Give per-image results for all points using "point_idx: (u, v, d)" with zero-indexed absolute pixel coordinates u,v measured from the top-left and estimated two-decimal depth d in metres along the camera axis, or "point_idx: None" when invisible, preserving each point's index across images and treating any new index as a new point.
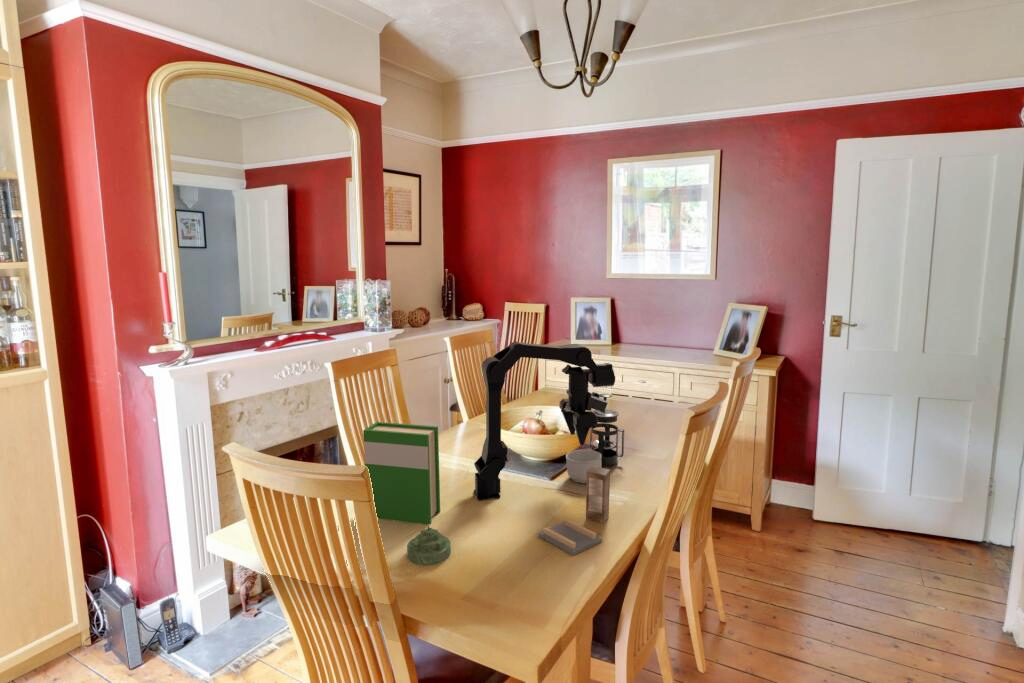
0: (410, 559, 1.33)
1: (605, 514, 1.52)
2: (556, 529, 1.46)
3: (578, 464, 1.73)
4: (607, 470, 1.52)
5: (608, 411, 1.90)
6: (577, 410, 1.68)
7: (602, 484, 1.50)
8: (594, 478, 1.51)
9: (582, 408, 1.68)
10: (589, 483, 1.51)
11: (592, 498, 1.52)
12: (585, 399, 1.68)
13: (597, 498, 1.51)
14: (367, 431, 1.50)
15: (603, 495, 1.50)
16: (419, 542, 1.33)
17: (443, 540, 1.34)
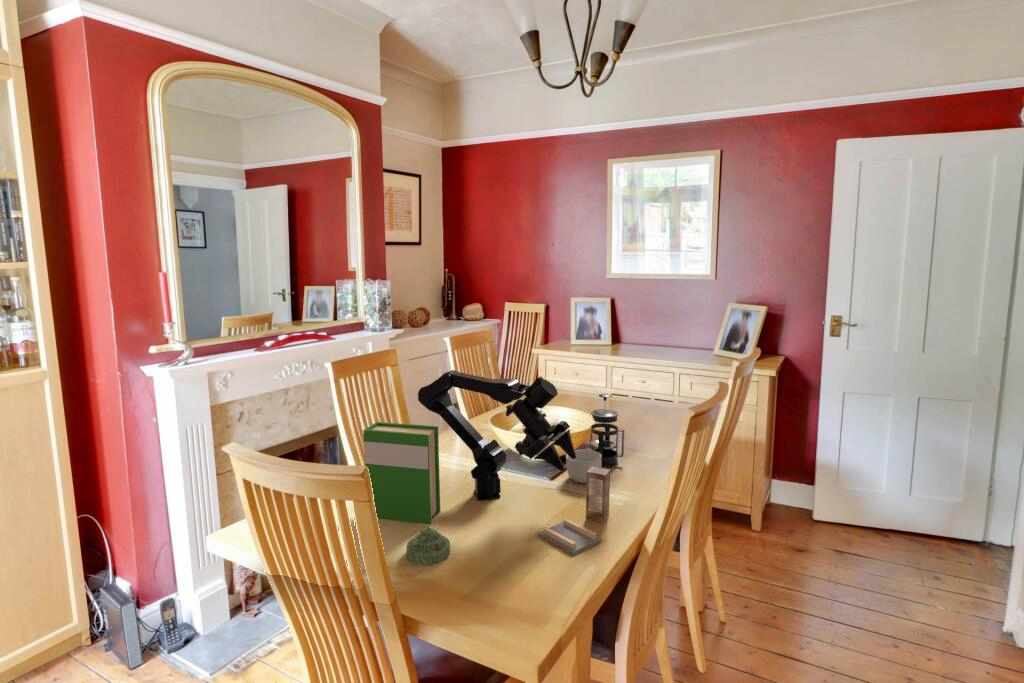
0: (409, 559, 1.33)
1: (605, 514, 1.52)
2: (556, 529, 1.46)
3: (578, 464, 1.73)
4: (607, 470, 1.52)
5: (608, 411, 1.90)
6: None
7: (602, 484, 1.50)
8: (594, 478, 1.51)
9: None
10: (589, 483, 1.51)
11: (592, 498, 1.52)
12: None
13: (597, 498, 1.51)
14: (367, 431, 1.50)
15: (603, 495, 1.50)
16: (418, 542, 1.33)
17: (442, 540, 1.34)
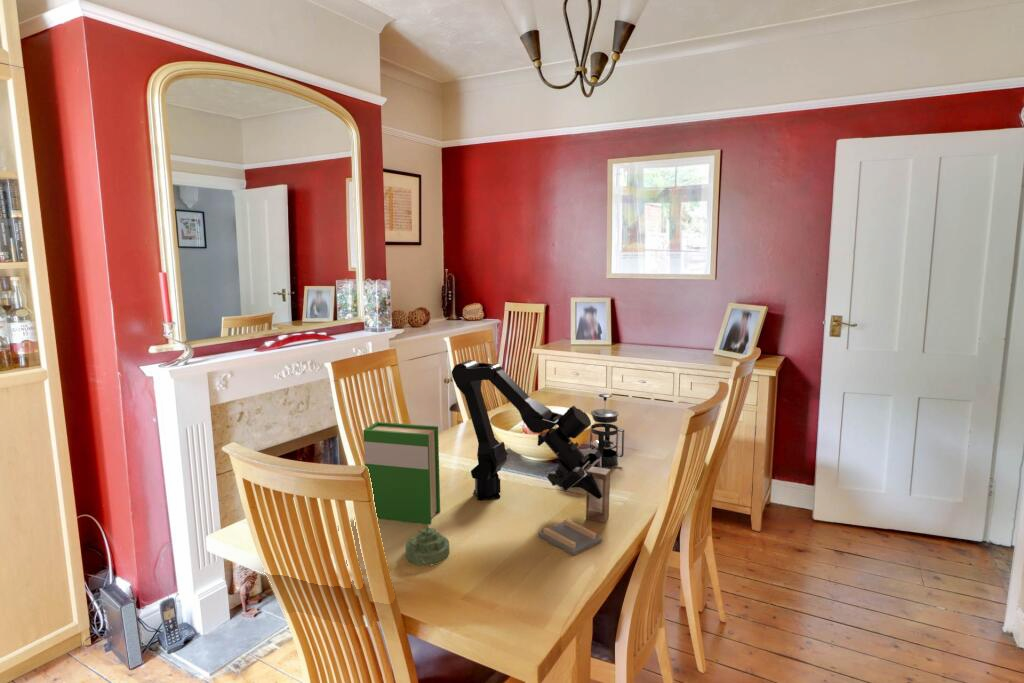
0: (409, 559, 1.33)
1: (605, 514, 1.52)
2: (556, 529, 1.46)
3: None
4: (607, 470, 1.52)
5: (608, 411, 1.90)
6: None
7: (602, 484, 1.50)
8: (594, 478, 1.51)
9: None
10: None
11: (592, 498, 1.52)
12: None
13: (597, 498, 1.51)
14: (367, 431, 1.50)
15: (603, 494, 1.50)
16: (417, 542, 1.34)
17: (442, 540, 1.34)
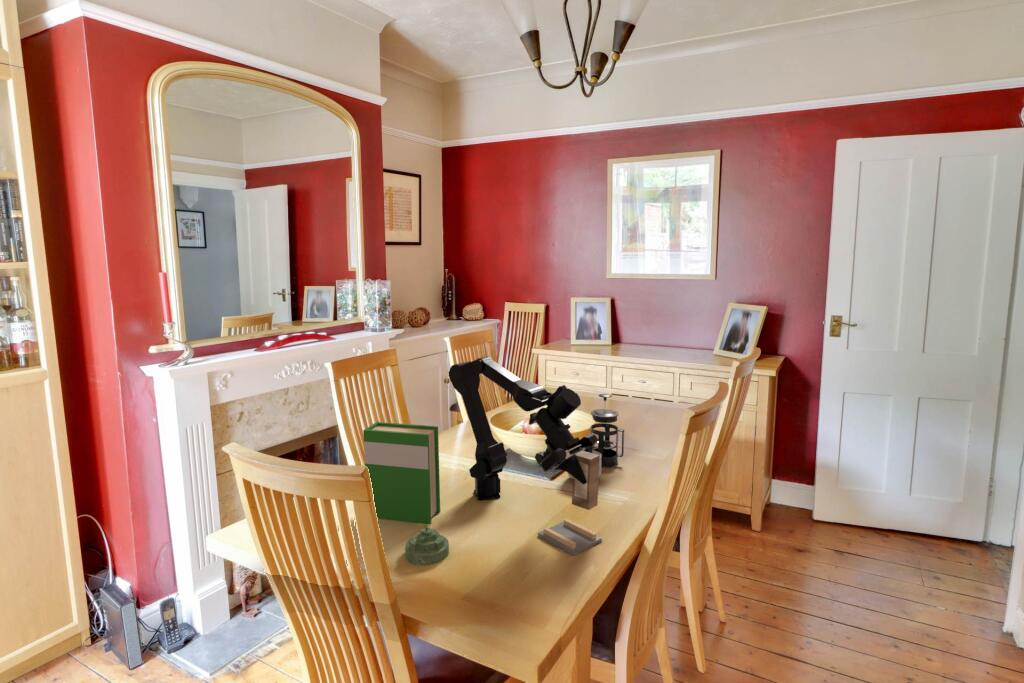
0: (408, 559, 1.33)
1: (590, 501, 1.44)
2: (556, 529, 1.46)
3: None
4: (596, 455, 1.44)
5: (608, 411, 1.90)
6: None
7: (587, 469, 1.42)
8: (580, 462, 1.43)
9: None
10: None
11: (578, 483, 1.44)
12: None
13: None
14: (367, 431, 1.50)
15: (588, 480, 1.42)
16: (417, 542, 1.34)
17: (441, 540, 1.35)
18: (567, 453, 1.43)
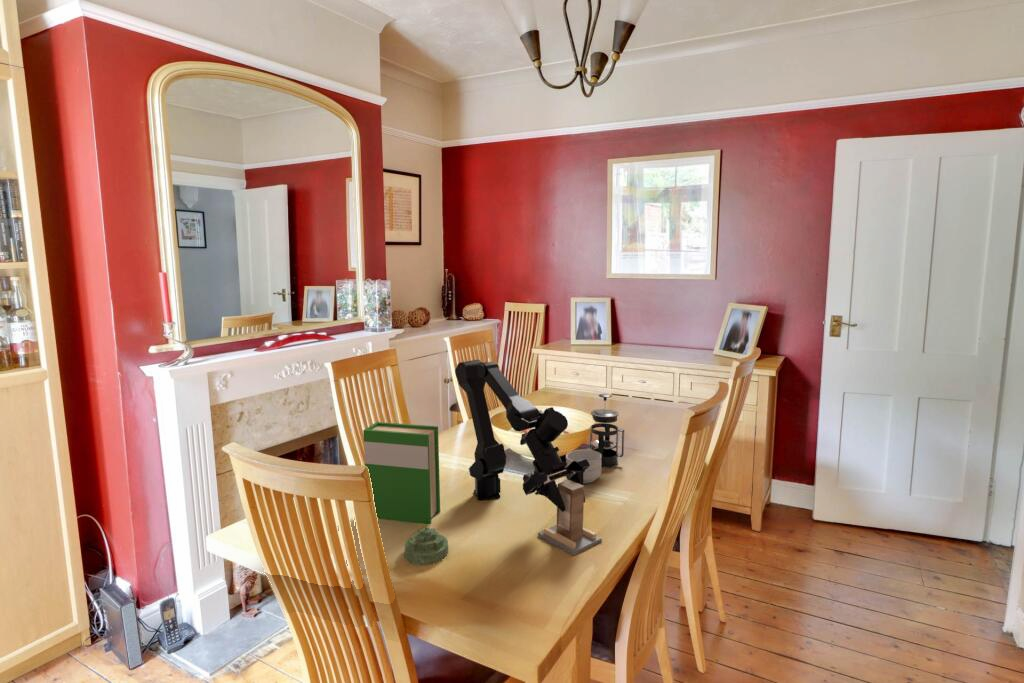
0: (407, 558, 1.33)
1: (573, 533, 1.40)
2: None
3: None
4: (580, 486, 1.40)
5: (608, 411, 1.90)
6: None
7: (569, 499, 1.39)
8: (563, 492, 1.40)
9: None
10: None
11: (561, 513, 1.41)
12: None
13: (566, 514, 1.40)
14: (367, 431, 1.50)
15: (570, 511, 1.39)
16: (416, 542, 1.34)
17: (440, 540, 1.35)
18: (546, 478, 1.39)
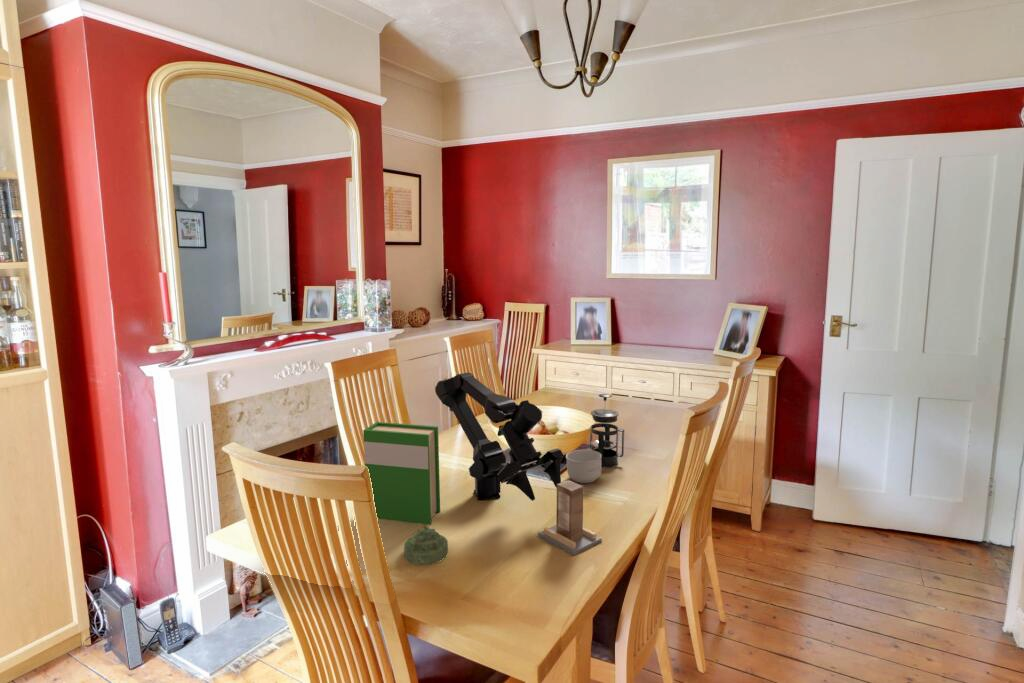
0: (407, 558, 1.33)
1: (573, 533, 1.40)
2: None
3: (578, 464, 1.73)
4: (579, 486, 1.40)
5: (608, 411, 1.90)
6: None
7: (569, 500, 1.39)
8: (563, 492, 1.40)
9: None
10: (559, 497, 1.41)
11: (561, 513, 1.41)
12: None
13: (565, 514, 1.40)
14: (367, 431, 1.50)
15: (570, 512, 1.39)
16: (416, 541, 1.34)
17: (440, 539, 1.35)
18: None
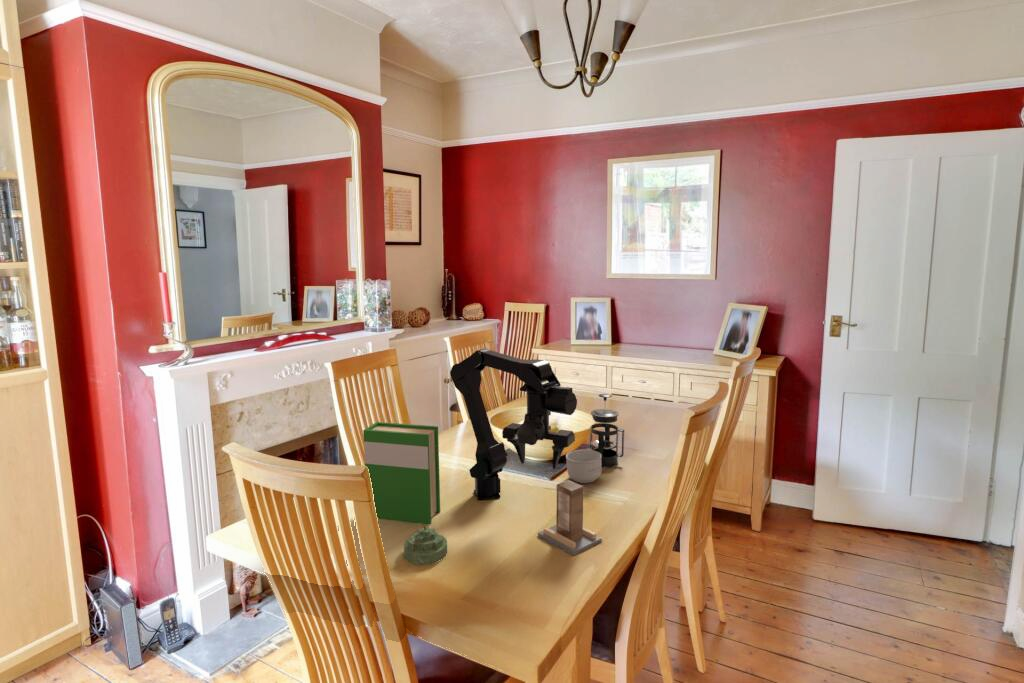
0: (407, 558, 1.33)
1: (573, 533, 1.40)
2: None
3: (578, 464, 1.73)
4: (579, 486, 1.40)
5: (608, 411, 1.90)
6: None
7: (569, 500, 1.39)
8: (563, 492, 1.40)
9: None
10: (559, 497, 1.41)
11: (561, 513, 1.41)
12: None
13: (565, 514, 1.40)
14: (367, 431, 1.50)
15: (570, 512, 1.39)
16: (415, 541, 1.34)
17: (439, 539, 1.35)
18: None
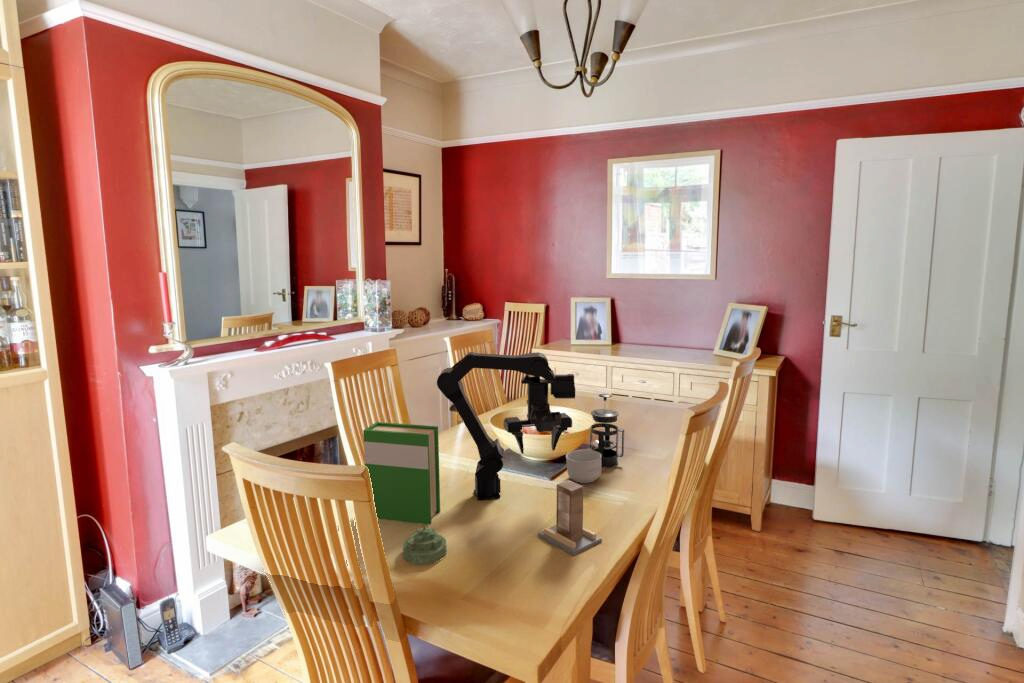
0: (406, 558, 1.33)
1: (573, 533, 1.40)
2: None
3: (578, 464, 1.73)
4: (579, 486, 1.40)
5: (608, 411, 1.90)
6: None
7: (569, 500, 1.39)
8: (563, 492, 1.40)
9: (528, 418, 1.63)
10: (559, 497, 1.41)
11: (561, 513, 1.41)
12: (530, 410, 1.62)
13: (565, 514, 1.40)
14: (367, 431, 1.50)
15: (570, 512, 1.39)
16: (415, 541, 1.34)
17: (439, 539, 1.35)
18: None
